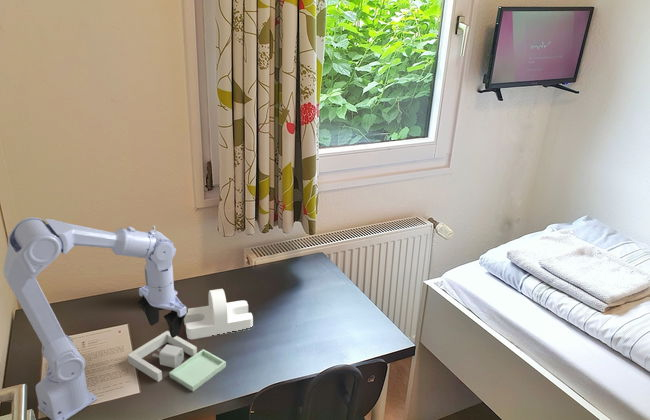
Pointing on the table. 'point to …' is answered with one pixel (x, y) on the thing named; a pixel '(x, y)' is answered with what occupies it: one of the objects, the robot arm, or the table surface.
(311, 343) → the table surface
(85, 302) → the table surface
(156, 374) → the bay
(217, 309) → the u-slot stand
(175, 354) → the usb wall charger
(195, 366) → the tray
